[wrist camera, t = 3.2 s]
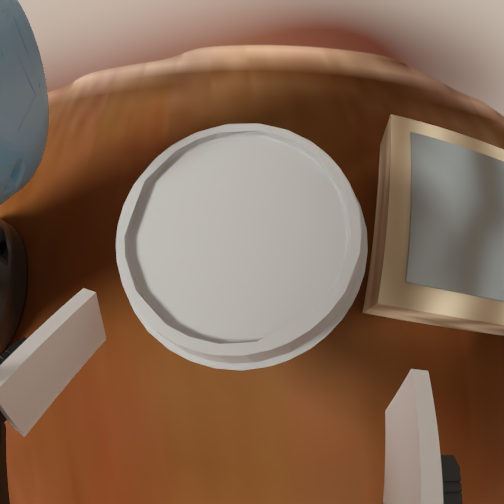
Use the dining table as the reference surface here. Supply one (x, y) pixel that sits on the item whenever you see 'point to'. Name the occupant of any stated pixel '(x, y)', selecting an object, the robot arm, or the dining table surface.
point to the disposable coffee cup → (241, 246)
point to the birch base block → (438, 229)
